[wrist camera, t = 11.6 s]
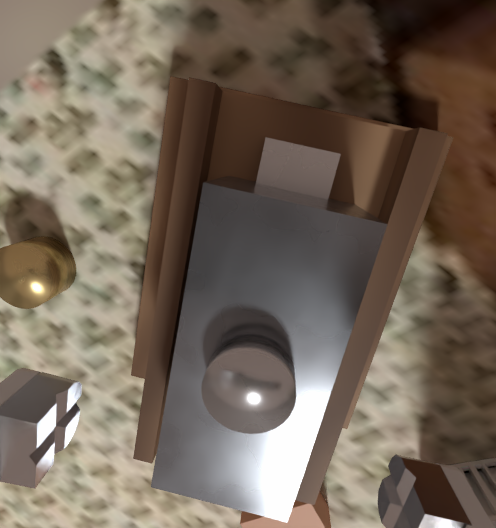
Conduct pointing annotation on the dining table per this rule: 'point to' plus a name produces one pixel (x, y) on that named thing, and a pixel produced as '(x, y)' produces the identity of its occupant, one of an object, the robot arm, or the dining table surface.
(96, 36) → the dining table surface
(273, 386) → the slider plate with knob
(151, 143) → the dining table surface
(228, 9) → the dining table surface
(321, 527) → the terracotta block
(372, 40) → the dining table surface
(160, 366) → the stand
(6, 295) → the brass knob
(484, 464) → the circuit breaker
